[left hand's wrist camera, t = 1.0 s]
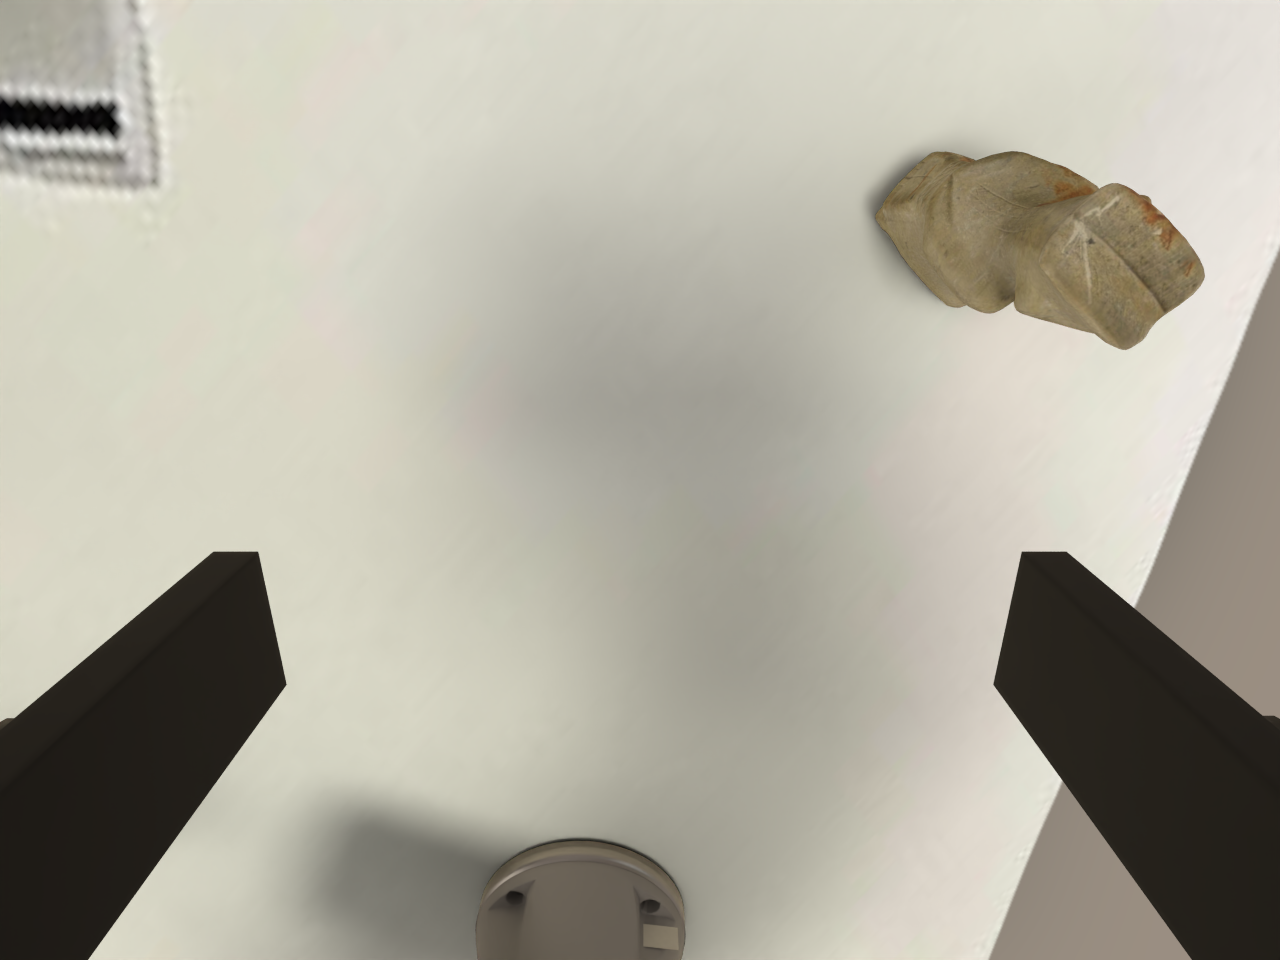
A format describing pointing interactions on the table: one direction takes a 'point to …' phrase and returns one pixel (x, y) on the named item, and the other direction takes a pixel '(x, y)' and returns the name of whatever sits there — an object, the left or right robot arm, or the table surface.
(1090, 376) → the table surface
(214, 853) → the table surface
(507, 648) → the table surface
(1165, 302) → the sculpture
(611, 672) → the table surface
